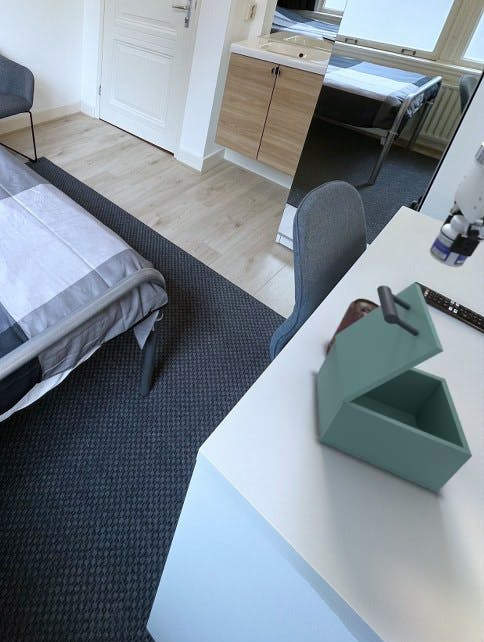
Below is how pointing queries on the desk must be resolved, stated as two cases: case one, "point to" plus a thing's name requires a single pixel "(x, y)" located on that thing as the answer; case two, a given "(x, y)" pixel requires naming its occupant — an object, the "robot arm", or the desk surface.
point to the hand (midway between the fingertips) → (454, 242)
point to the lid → (385, 342)
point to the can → (353, 315)
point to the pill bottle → (449, 242)
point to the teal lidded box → (395, 424)
